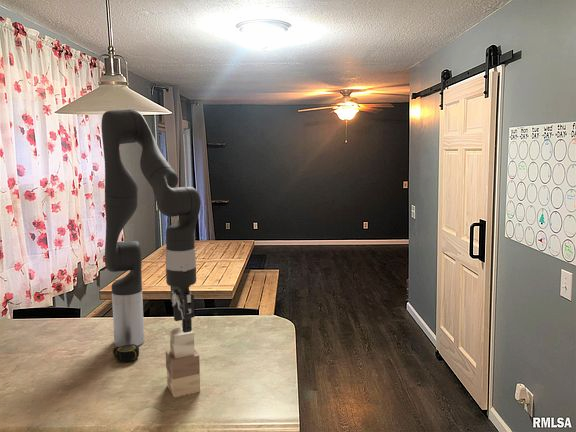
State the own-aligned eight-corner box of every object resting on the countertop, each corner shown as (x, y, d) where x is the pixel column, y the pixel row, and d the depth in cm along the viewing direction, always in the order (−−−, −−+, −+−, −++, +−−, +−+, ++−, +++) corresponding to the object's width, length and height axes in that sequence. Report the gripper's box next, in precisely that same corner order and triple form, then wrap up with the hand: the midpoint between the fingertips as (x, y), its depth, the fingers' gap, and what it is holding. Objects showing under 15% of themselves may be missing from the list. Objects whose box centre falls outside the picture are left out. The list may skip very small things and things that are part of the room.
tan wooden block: (167, 385, 133) (166, 368, 132) (192, 380, 136) (192, 363, 136) (173, 397, 127) (173, 379, 126) (200, 391, 130) (199, 373, 129)
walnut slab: (166, 368, 132) (165, 350, 132) (191, 362, 136) (191, 345, 135) (173, 379, 126) (172, 360, 126) (199, 373, 130) (199, 355, 129)
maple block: (170, 351, 131) (169, 329, 130) (188, 347, 134) (188, 326, 133) (175, 358, 127) (174, 336, 126) (194, 354, 129) (194, 332, 128)
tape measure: (136, 352, 154) (135, 341, 153) (141, 361, 148) (141, 349, 147) (113, 357, 150) (112, 345, 150) (118, 366, 144) (117, 354, 144)
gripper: (159, 260, 131) (161, 319, 134) (173, 274, 119) (175, 338, 121) (187, 257, 134) (189, 314, 137) (203, 270, 122) (204, 333, 125)
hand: (182, 325), depth 129 cm, fingers open, 8 cm apart
